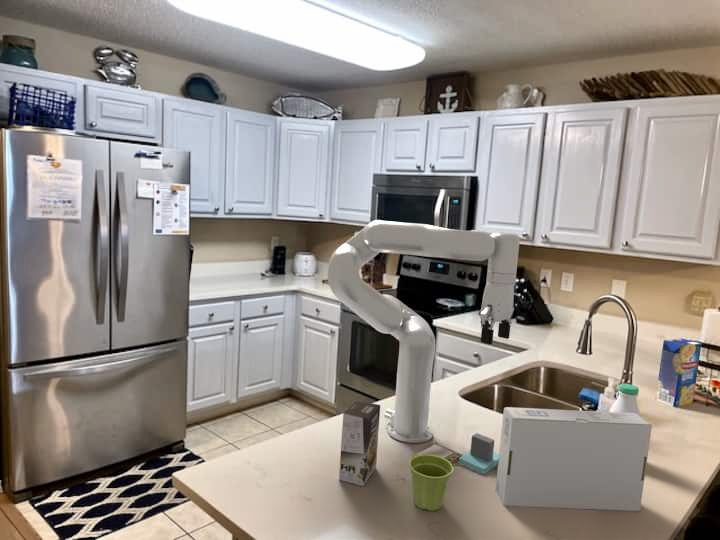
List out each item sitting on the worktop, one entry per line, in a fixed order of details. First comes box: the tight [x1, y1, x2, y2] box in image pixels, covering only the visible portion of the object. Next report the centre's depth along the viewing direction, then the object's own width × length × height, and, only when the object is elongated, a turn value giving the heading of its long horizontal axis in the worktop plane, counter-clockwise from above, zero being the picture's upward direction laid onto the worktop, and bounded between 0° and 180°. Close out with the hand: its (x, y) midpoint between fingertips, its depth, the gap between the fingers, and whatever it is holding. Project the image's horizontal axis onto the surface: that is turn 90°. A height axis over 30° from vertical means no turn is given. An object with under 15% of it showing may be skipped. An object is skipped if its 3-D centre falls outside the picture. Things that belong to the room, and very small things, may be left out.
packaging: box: [495, 406, 653, 512], centre depth 112 cm, size 30×6×20 cm, turn 92°
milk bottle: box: [609, 383, 642, 418], centre depth 134 cm, size 8×8×20 cm
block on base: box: [457, 432, 499, 475], centre depth 127 cm, size 7×10×6 cm
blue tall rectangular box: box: [655, 338, 702, 408], centre depth 179 cm, size 7×11×22 cm, turn 117°
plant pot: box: [408, 455, 454, 512], centre depth 108 cm, size 9×9×9 cm
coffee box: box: [338, 400, 381, 487], centre depth 118 cm, size 9×6×16 cm
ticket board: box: [412, 442, 463, 466], centre depth 127 cm, size 8×10×2 cm
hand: (495, 340), depth 138 cm, fingers open, 9 cm apart
